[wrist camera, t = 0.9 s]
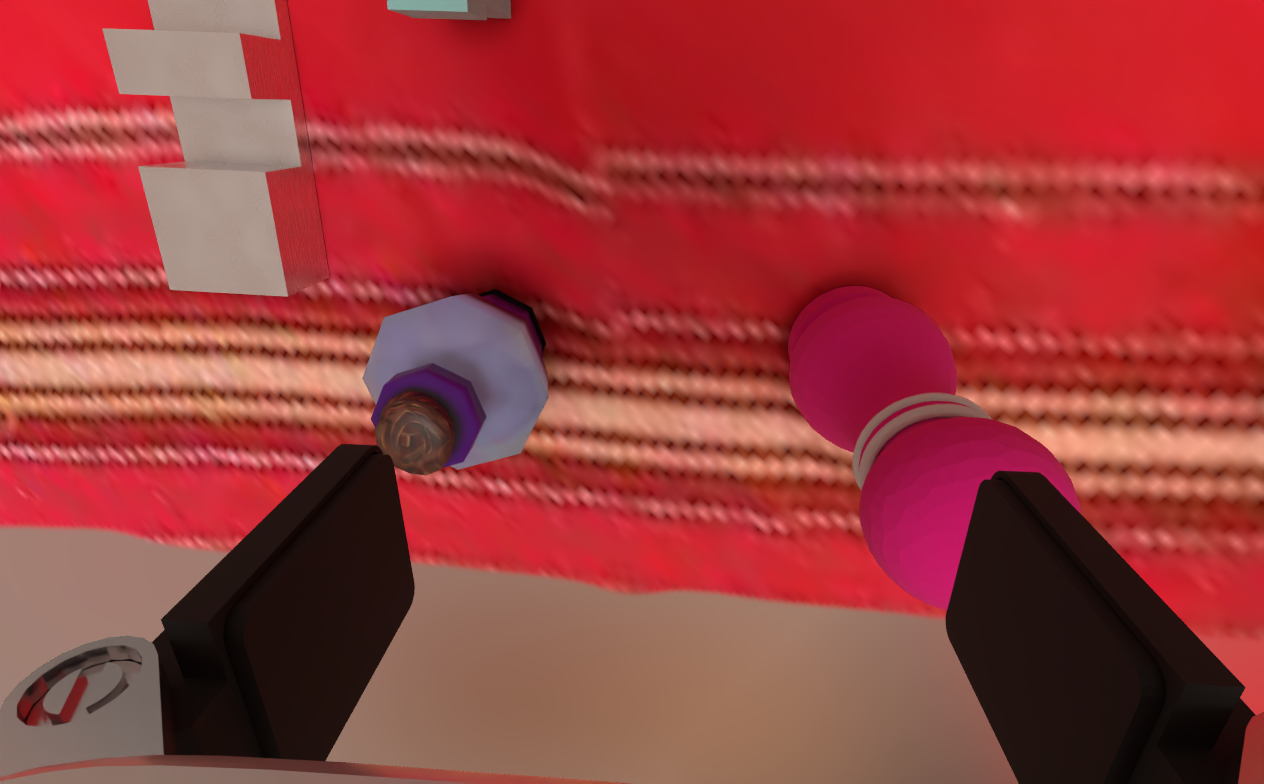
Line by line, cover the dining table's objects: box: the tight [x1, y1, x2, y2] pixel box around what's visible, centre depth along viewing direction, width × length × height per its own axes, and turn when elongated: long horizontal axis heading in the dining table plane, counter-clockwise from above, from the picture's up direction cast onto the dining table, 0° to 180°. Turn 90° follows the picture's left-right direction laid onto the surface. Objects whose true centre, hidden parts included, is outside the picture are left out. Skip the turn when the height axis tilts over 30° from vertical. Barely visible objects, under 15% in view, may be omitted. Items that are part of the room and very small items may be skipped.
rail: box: [103, 0, 330, 296], centre depth 29 cm, size 20×6×4 cm, turn 178°
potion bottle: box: [363, 289, 548, 475], centre depth 30 cm, size 9×9×12 cm
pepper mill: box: [788, 286, 1081, 610], centre depth 25 cm, size 7×7×20 cm
